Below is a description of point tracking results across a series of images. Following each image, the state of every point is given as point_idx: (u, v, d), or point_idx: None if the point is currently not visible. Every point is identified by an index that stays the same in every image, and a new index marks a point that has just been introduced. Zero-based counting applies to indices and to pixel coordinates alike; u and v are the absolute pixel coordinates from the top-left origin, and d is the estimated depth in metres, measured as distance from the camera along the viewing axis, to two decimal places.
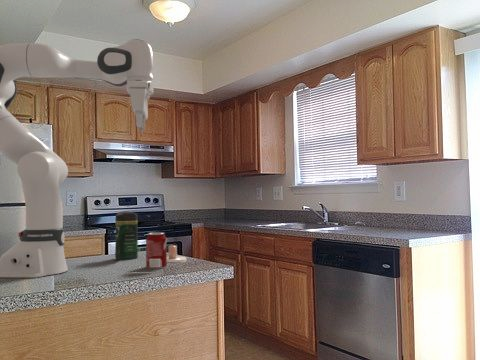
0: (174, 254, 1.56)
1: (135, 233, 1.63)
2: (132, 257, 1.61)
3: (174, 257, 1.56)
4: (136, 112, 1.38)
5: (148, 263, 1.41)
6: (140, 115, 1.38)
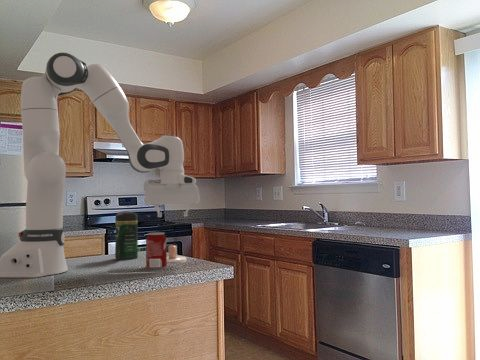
0: (174, 254, 1.56)
1: (135, 233, 1.63)
2: (132, 257, 1.61)
3: (174, 257, 1.56)
4: None
5: (148, 263, 1.41)
6: None
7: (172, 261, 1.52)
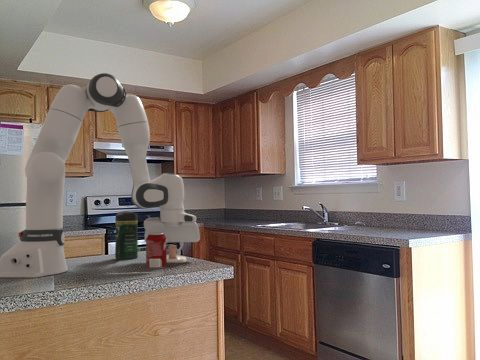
0: (174, 254, 1.56)
1: (135, 233, 1.63)
2: (132, 257, 1.61)
3: (174, 257, 1.56)
4: None
5: (148, 263, 1.41)
6: (183, 244, 1.58)
7: (172, 261, 1.52)
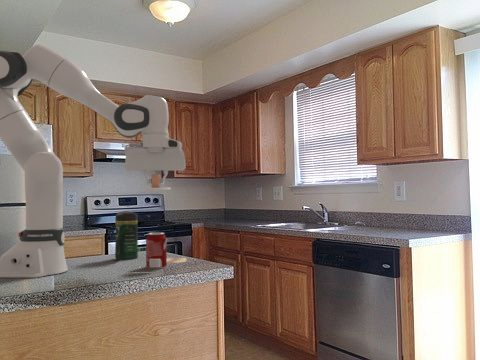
0: (157, 183, 1.43)
1: (135, 233, 1.63)
2: (132, 257, 1.61)
3: (157, 186, 1.43)
4: (167, 171, 1.44)
5: (148, 263, 1.41)
6: (167, 174, 1.45)
7: (155, 188, 1.39)
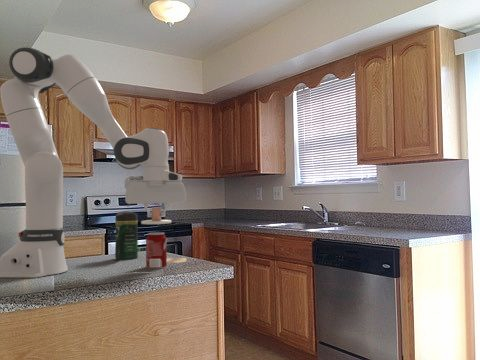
0: (158, 216, 1.43)
1: (135, 233, 1.63)
2: (132, 257, 1.61)
3: (158, 219, 1.43)
4: None
5: (148, 263, 1.41)
6: None
7: (155, 222, 1.39)
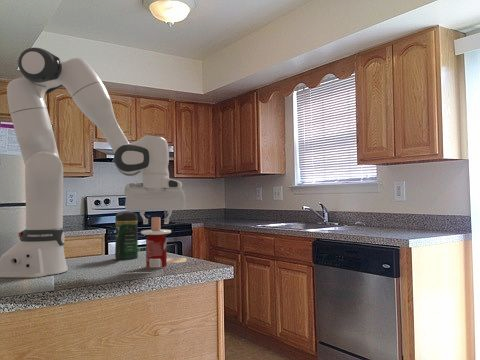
0: (157, 226, 1.43)
1: (135, 233, 1.63)
2: (132, 257, 1.61)
3: (157, 229, 1.43)
4: (171, 210, 1.44)
5: (148, 263, 1.41)
6: None
7: (155, 233, 1.39)
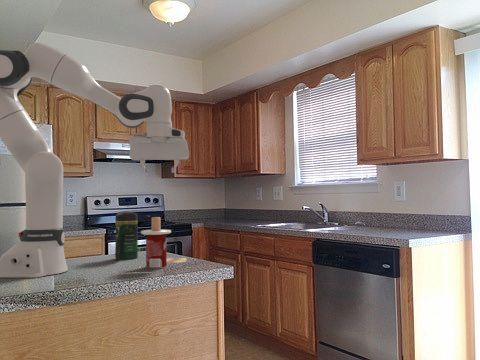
0: (157, 226, 1.43)
1: (135, 233, 1.63)
2: (132, 257, 1.61)
3: (157, 229, 1.43)
4: (178, 160, 1.47)
5: (148, 263, 1.41)
6: (178, 162, 1.49)
7: (155, 233, 1.39)
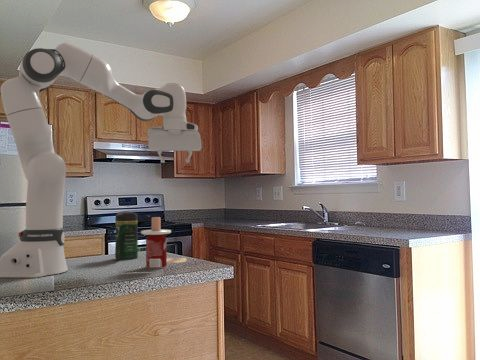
0: (157, 226, 1.43)
1: (135, 233, 1.63)
2: (132, 257, 1.61)
3: (157, 229, 1.43)
4: None
5: (148, 263, 1.41)
6: None
7: (155, 233, 1.39)
